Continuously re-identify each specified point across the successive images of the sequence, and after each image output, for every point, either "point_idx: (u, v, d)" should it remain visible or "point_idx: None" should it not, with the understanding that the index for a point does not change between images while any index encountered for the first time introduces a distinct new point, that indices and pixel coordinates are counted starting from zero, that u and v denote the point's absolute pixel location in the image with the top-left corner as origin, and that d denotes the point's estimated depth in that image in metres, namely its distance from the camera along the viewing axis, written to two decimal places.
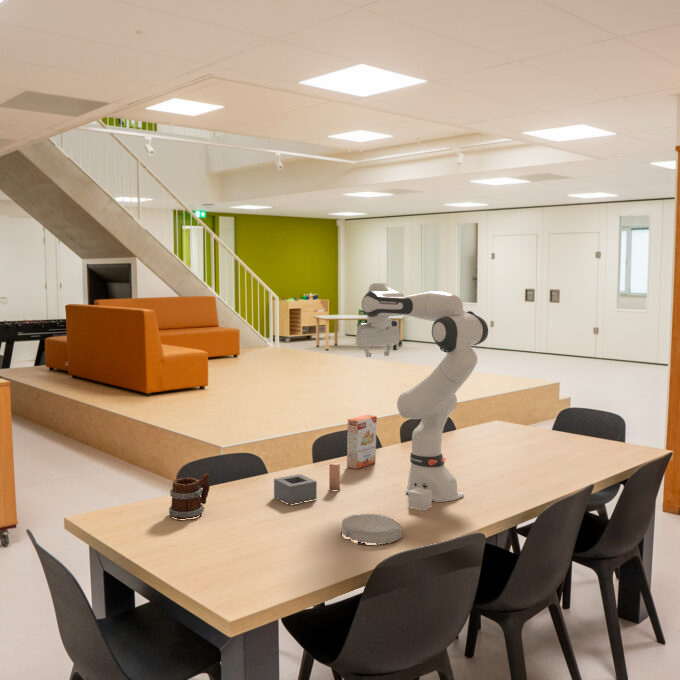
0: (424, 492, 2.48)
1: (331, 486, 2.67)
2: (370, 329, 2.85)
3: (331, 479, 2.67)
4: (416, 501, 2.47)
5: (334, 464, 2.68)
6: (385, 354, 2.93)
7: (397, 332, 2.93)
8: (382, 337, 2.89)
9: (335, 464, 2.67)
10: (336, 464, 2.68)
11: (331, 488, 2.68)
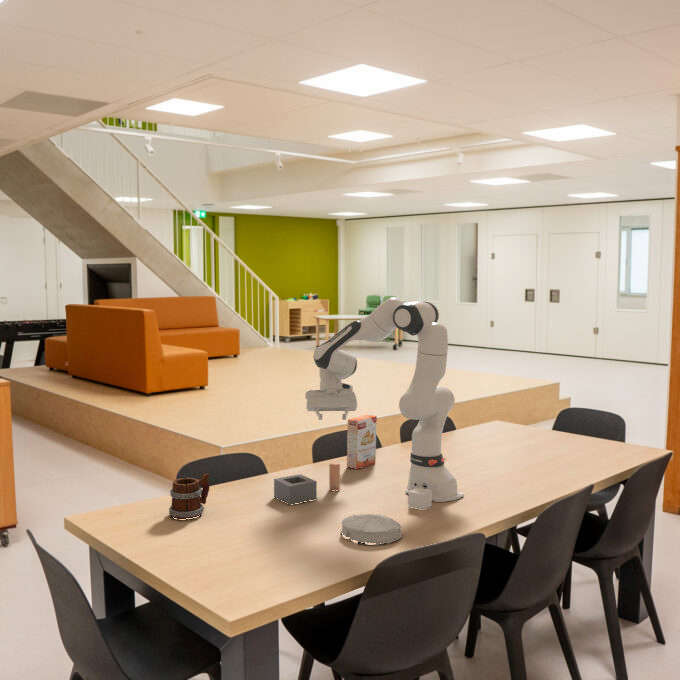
0: (424, 492, 2.48)
1: (331, 486, 2.67)
2: (318, 392, 2.85)
3: (331, 479, 2.67)
4: (416, 501, 2.47)
5: (334, 464, 2.68)
6: (342, 417, 2.80)
7: (352, 395, 2.84)
8: (334, 399, 2.83)
9: (335, 464, 2.67)
10: (336, 464, 2.68)
11: (331, 488, 2.68)
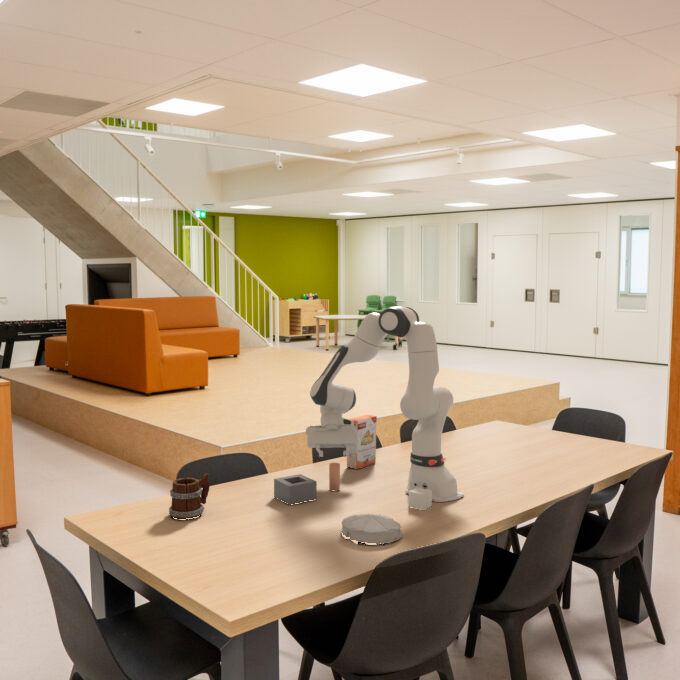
0: (424, 492, 2.48)
1: (331, 486, 2.67)
2: (319, 428, 2.80)
3: (331, 479, 2.67)
4: (416, 501, 2.47)
5: (334, 464, 2.68)
6: (343, 454, 2.75)
7: (354, 431, 2.80)
8: (335, 435, 2.79)
9: (335, 464, 2.67)
10: (336, 463, 2.69)
11: (331, 488, 2.68)
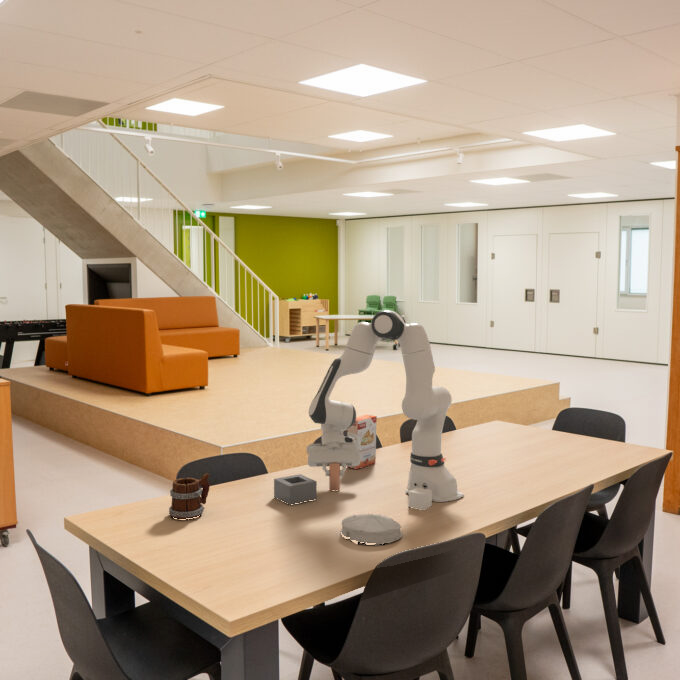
0: (424, 492, 2.48)
1: (331, 486, 2.67)
2: (320, 446, 2.73)
3: (331, 479, 2.67)
4: (416, 501, 2.47)
5: (334, 464, 2.68)
6: (340, 473, 2.69)
7: (355, 449, 2.73)
8: (337, 454, 2.72)
9: (335, 464, 2.67)
10: (336, 464, 2.68)
11: (331, 488, 2.68)
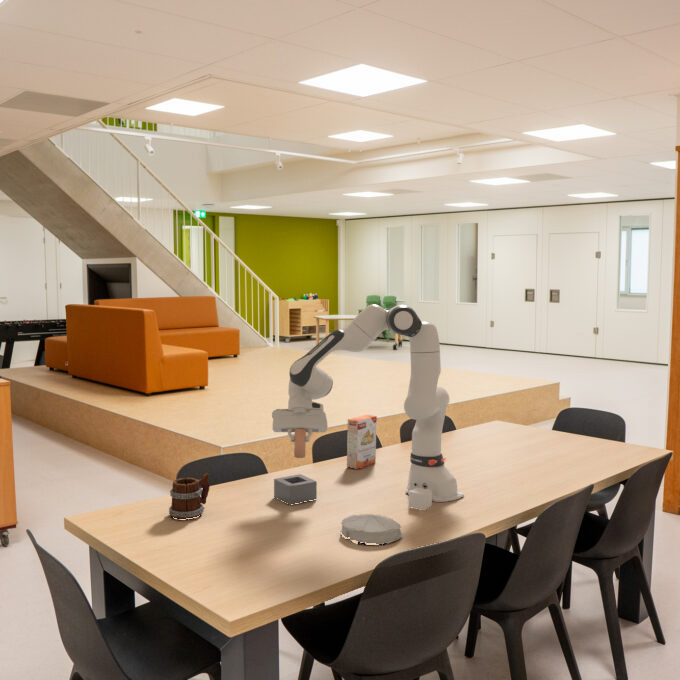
0: (424, 492, 2.48)
1: (296, 452, 2.57)
2: (286, 412, 2.63)
3: (296, 445, 2.57)
4: (416, 501, 2.47)
5: (299, 429, 2.57)
6: None
7: (323, 415, 2.63)
8: (303, 419, 2.61)
9: (301, 430, 2.57)
10: (302, 429, 2.58)
11: (296, 454, 2.57)
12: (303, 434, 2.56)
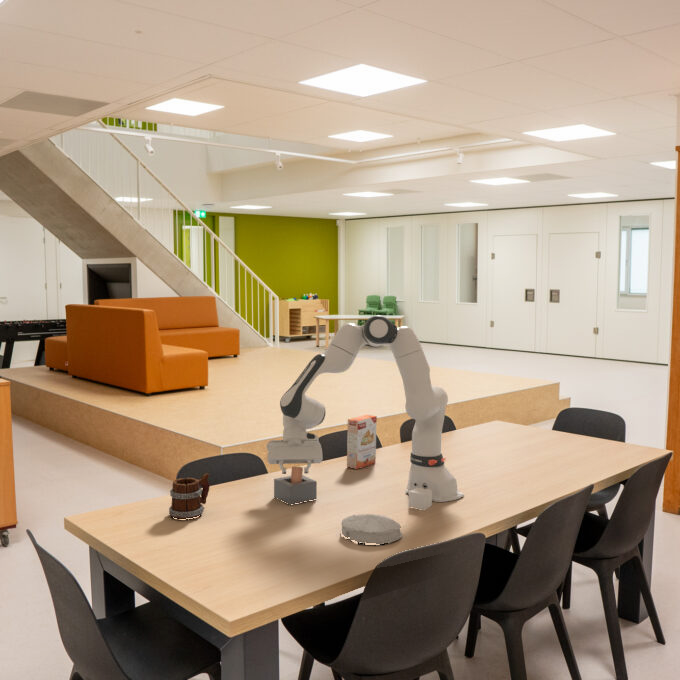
0: (424, 492, 2.48)
1: None
2: (280, 443, 2.62)
3: (292, 482, 2.57)
4: (416, 501, 2.47)
5: (297, 467, 2.59)
6: None
7: (317, 446, 2.62)
8: (298, 450, 2.60)
9: (298, 467, 2.58)
10: (299, 467, 2.60)
11: None
12: (300, 471, 2.58)
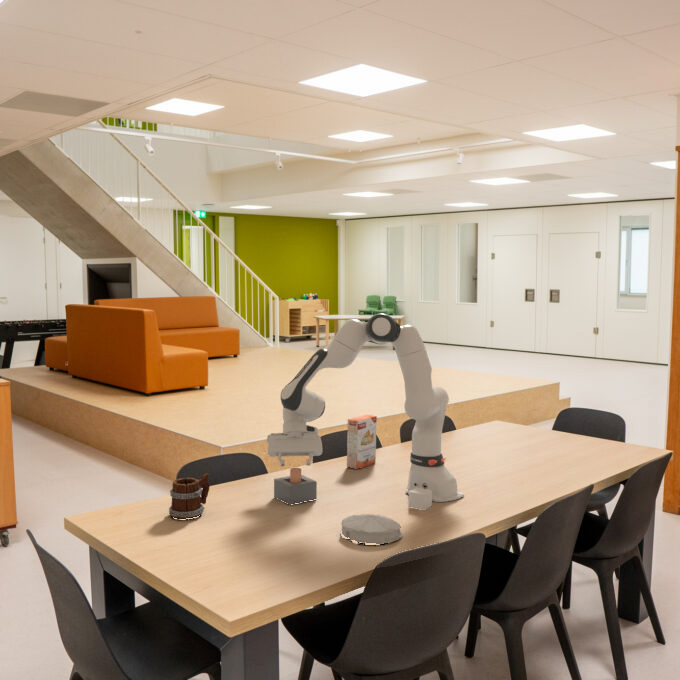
0: (424, 492, 2.48)
1: None
2: (281, 436, 2.65)
3: None
4: (416, 501, 2.47)
5: (295, 469, 2.57)
6: (306, 463, 2.60)
7: (317, 438, 2.64)
8: (298, 443, 2.63)
9: (296, 470, 2.56)
10: (297, 469, 2.57)
11: None
12: (299, 474, 2.56)
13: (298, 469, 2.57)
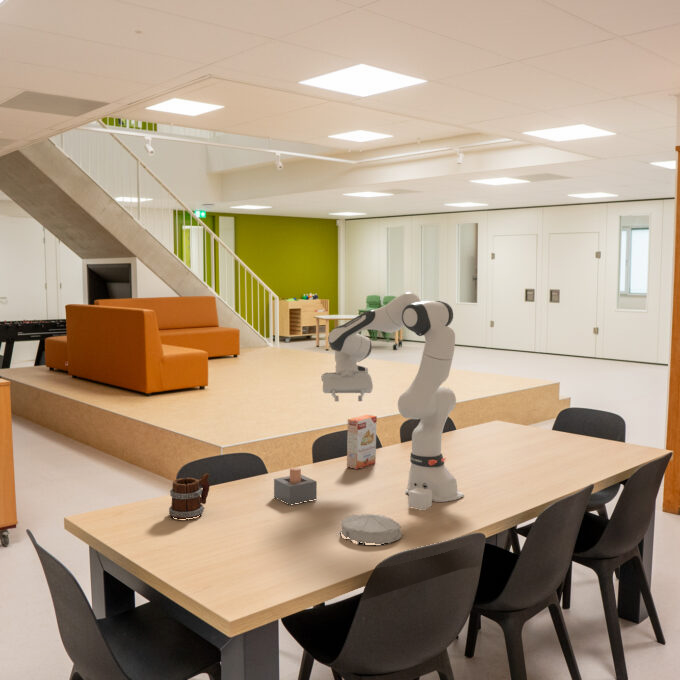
0: (424, 492, 2.48)
1: None
2: (334, 375, 2.88)
3: None
4: (416, 501, 2.47)
5: (295, 469, 2.57)
6: (358, 399, 2.83)
7: (368, 377, 2.88)
8: (350, 381, 2.86)
9: (296, 470, 2.56)
10: (297, 469, 2.57)
11: None
12: (298, 474, 2.56)
13: (298, 469, 2.57)
